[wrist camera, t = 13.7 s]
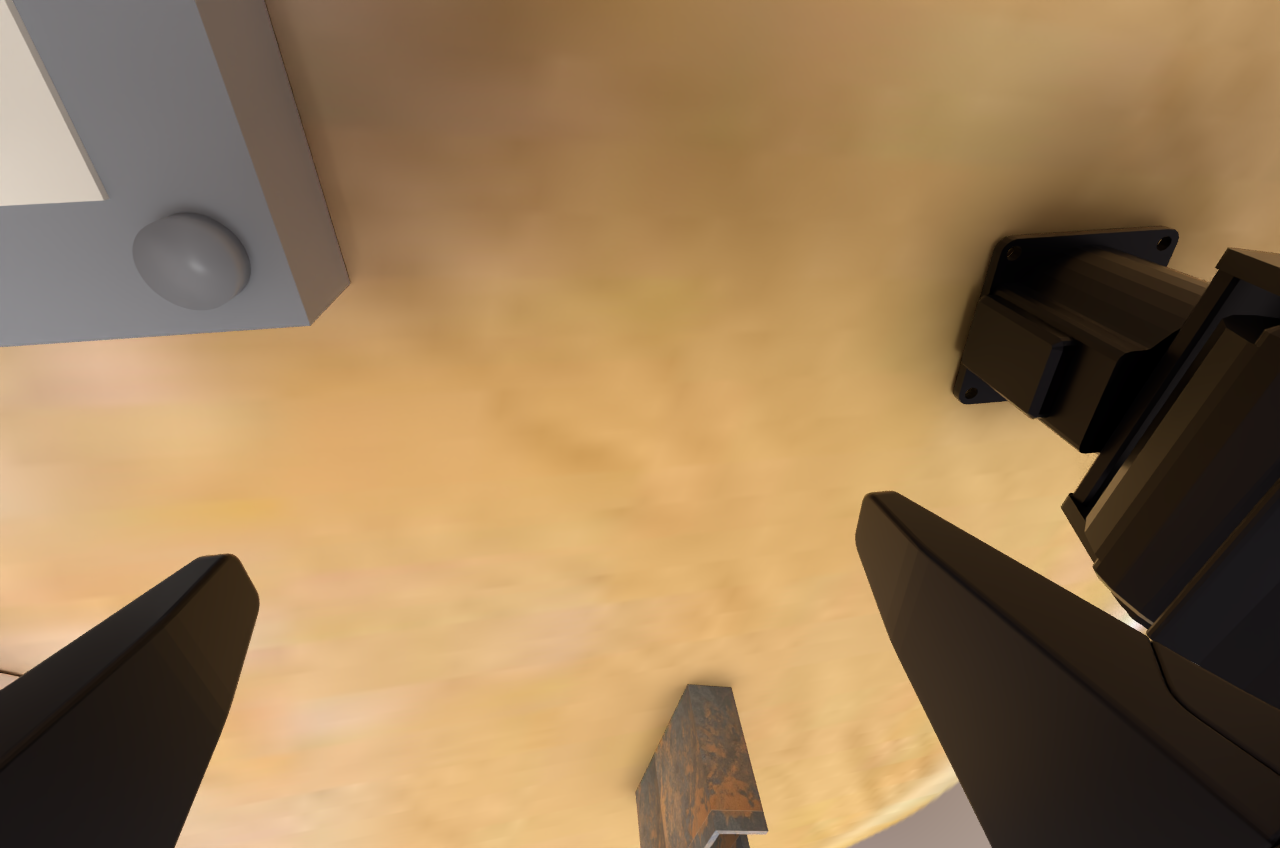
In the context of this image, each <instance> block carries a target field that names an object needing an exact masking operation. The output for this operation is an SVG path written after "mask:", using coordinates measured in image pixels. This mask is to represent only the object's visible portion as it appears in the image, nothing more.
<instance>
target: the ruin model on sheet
mask: <svg viewBox="0 0 1280 848" xmlns="http://www.w3.org/2000/svg"><path fill="white" fill-rule="evenodd" d="M636 802H637V813H638V824H639V834H640V845H641V848H750V847H749V842H748V838H747V834H767V832H768V828H767V824H766V820H765V816H764V812H763V809H762V805H761V801H760V797H759V793H758V789H757V785H756V781H755V777H754V774H753V770H752V766H751V762H750V758H749V754H748V750H747V746H746V743H745V739H744V735H743V731H742V727H741V723H740V719H739V715H738V712H737V708H736V704H735V700H734V696H733V692H732V688H731V687H717V686H703V685H689V684H688V685H687V687H686V689H685V691H684V693H683V695H682V697H681V699H680V701H679V703H678V705H677V708H676V710H675V712H674V714H673V716H672V718H671V720H670V722H669V724H668V726H667V728H666V730H665V732H664V735H663V737H662V739H661V741H660V743H659V745H658V747H657V749H656V751H655V753H654V755H653V757H652V760H651V762H650V764H649V766H648V768H647V770H646V772H645V774H644V776H643V778H642V780H641V782H640V785H639V787H638V789H637V791H636Z"/></svg>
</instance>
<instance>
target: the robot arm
mask: <svg viewBox="0 0 1280 848" xmlns="http://www.w3.org/2000/svg"><path fill="white" fill-rule="evenodd" d="M1161 239H1162V240H1161ZM1178 239H1179V234H1178V232H1177V231H1176V230H1175V229H1171V228H1168V227H1163V226H1154V227H1138V228H1122V229H1107V230H1091V231H1075V232H1059V233H1044V234H1028V235H1012V236H1008V237H1005V238H1003V239H1002V240H1000V241H999V243H998V244H997V245H996V246H995V248H994V251H993V254H992V257H991V261H990V264H989V268H988V271H987V275H986V278H985V282H984V285H983V289H982V292H981V296H980V299H979V302H978V303H977V307H976V310H975V314H974V317H973V321H972V324H971V328H970V331H969V335H968V338H967V342H966V345H965V349H964V352H963V356H962V359H961V366H960V369H959V372H958V376H957V379H956V383H955V386H954V391H953V394H954V396H955V397H956V398H957V399H958V400H959V401H960V402H961V403H963V404H978V403H990V402H1002V401H1009V402H1010V403H1011V404H1013V405H1014V406H1015V407H1016V408H1018V409H1019V410H1020V411H1022V412H1023V413H1024V414H1025V415H1027V416H1028V417H1029V418H1031V419H1038V420H1039V421H1041V422H1042V423H1043V424H1045V425H1046V426H1047V427H1048V428H1050V429H1051V430H1052V431H1054V432H1055V433H1056V434H1057V435H1059V436H1060V437H1061V438H1063V439H1064V440H1065V441H1066V442H1068V443H1069V444H1070V445H1071V446H1073V447H1074V448H1075V449H1077V450H1078V451H1079V452H1080V453H1085V454H1086V453H1096V454H1098V456H1097V458H1096V460H1095V461H1094V463H1093V464H1092V466H1091V467H1090V469H1089V470H1088V472H1087V473H1086V475H1085V476H1084V478H1083V480H1082V481H1081V483H1080V484H1079V486H1078V487H1077V489H1076V490H1075V492H1074V493H1070V494H1069V495H1068V496H1067V498H1066V499H1065V501H1064V503H1063V504H1062V506H1061V509H1062V510H1063V512H1064V514H1065V515H1066V517H1067V519H1068V520H1069V522H1070V524H1071V525H1072V527H1073V529H1074V530H1075V532H1076V534H1077V536H1078V537H1079V539H1080V541H1081V542H1082V544H1083V546H1084V547H1085V549H1086V551H1087V552H1088V554H1089V556H1090V557H1091V559H1092V561H1093V562H1094V564H1093V569H1094V571H1095V573H1096V574H1097V576H1098V578H1099V579H1100V580H1101V581H1102V582H1103V583H1104V584H1105V586H1106V587H1107V588H1108V589H1109V590H1110V591H1111V593H1112V594H1113V596H1114V597H1115V598H1116V600H1117V601H1118V602H1119V604H1120V605H1121V606H1122V607H1123V608H1124V609H1125V610H1126V611H1127V613H1128V614H1129V616H1130V617H1131V618H1132V619H1133V620H1135V621H1136V622H1138V623H1140V624H1141V625H1143V626H1144V627H1145V628H1146V629H1148V630H1147V631H1146V634H1147V636H1148V637H1149V638H1150V639H1151V640H1153V641H1150V640H1149V638H1148V637H1147V636H1146V635H1144V634H1142V633H1141V632H1139V631H1137V630H1136V629H1134V628H1132V627H1130V626H1129V625H1127V624H1125V623H1123V622H1122V621H1120V620H1118V619H1116V618H1115V617H1113V616H1111V615H1109V614H1108V613H1106V612H1104V611H1102V610H1101V609H1099V608H1097V607H1096V606H1094V605H1092V604H1090V603H1089V602H1087V601H1085V600H1083V599H1082V598H1080V597H1078V596H1076V595H1075V594H1073V593H1071V592H1069V591H1068V590H1066V589H1064V588H1063V587H1061V586H1059V585H1057V584H1056V583H1054V582H1052V581H1050V580H1049V579H1047V578H1045V577H1043V576H1042V575H1040V574H1038V573H1036V572H1035V571H1033V570H1031V569H1029V568H1028V567H1026V566H1024V565H1023V564H1021V563H1019V562H1017V561H1016V560H1014V559H1012V558H1010V557H1009V556H1007V555H1005V554H1003V553H1002V552H1000V551H998V550H996V549H995V548H993V547H991V546H989V545H988V544H986V543H984V542H983V541H981V540H979V539H977V538H976V537H974V536H972V535H970V534H969V533H967V532H965V531H963V530H962V529H960V528H958V527H956V526H955V525H953V524H951V523H950V522H948V521H946V520H944V519H943V518H941V517H939V516H937V515H936V514H934V513H932V512H930V511H929V510H927V509H925V508H923V507H922V506H920V505H918V504H916V503H915V502H913V501H911V500H910V499H908V498H906V497H904V496H903V495H901V494H899V493H897V492H895V491H882V492H871V493H868V494H867V495H865V497H864V499H863V501H862V506H861V510H860V515H859V519H858V524H857V529H856V534H855V541H856V547H857V551H858V554H859V556H860V559H861V562H862V565H863V567H864V570H865V573H866V576H867V578H868V581H869V584H870V587H871V589H872V592H873V595H874V598H875V600H876V603H877V606H878V609H879V611H880V614H881V617H882V620H883V622H884V625H885V628H886V630H887V633H888V635H889V638H890V640H891V643H892V645H893V647H894V649H895V651H896V653H897V656H898V658H899V660H900V662H901V664H902V666H903V668H904V670H905V672H906V674H907V676H908V678H909V680H910V682H911V684H912V686H913V688H914V690H915V692H916V694H917V696H918V698H919V700H920V702H921V704H922V706H923V709H924V711H925V713H926V715H927V717H928V719H929V721H930V723H931V725H932V727H933V729H934V731H935V733H936V735H937V737H938V739H939V741H940V743H941V745H942V747H943V749H944V751H945V753H946V755H947V757H948V759H949V761H950V763H951V765H952V767H953V769H954V771H955V773H956V776H957V778H958V780H959V782H960V784H961V786H962V788H963V790H964V792H965V794H966V796H967V798H968V799H969V802H970V804H971V806H972V808H973V810H974V812H975V814H976V816H977V818H978V820H979V822H980V824H981V826H982V828H983V830H984V832H985V834H986V836H987V838H988V840H989V842H990V844H991V846H992V848H1280V254H1278V253H1270V252H1262V251H1254V250H1246V249H1238V248H1229V247H1228V248H1227V250H1226V251H1225V253H1224V255H1223V256H1222V258H1221V259H1220V261H1219V262H1218V264H1217V265H1216V267H1215V268H1216V269H1219V270H1218V272H1217V273H1216V275H1215V276H1214V278H1213V279H1212V281H1211V283H1210V282H1207V281H1204V280H1201V279H1198V278H1196V277H1193V276H1190V275H1187V274H1184V273H1182V272H1179V271H1176V270H1173V269H1171V268H1168V267H1167V265H1168V263H1169V260H1170V258H1171V256H1172V254H1173V252H1174V249H1175V247H1176V245H1177V243H1178ZM1160 240H1161V241H1160ZM1159 241H1160V243H1159V244H1158V242H1159ZM1157 244H1158V245H1157ZM1012 247H1014V251H1013V253H1012V254H1011V255H1010V256H1008V257H1007V253H1008V251H1009V250H1010V249H1011V248H1012ZM970 388H972V389H971V390H970V391H969V392H968V393H966V391H967V390H969V389H970ZM965 393H966V394H965ZM259 604H260V603H259V596H258V593H257V590H256V589H255V587H254V585H253V583H252V581H251V580H250V578H249V576H248V574H247V572H246V570H245V569H244V567H243V565H242V563H241V561H240V560H239V559H238V558H237V557H236V556H235V555H233V554H218V555H208V556H202V557H199V558H197V559H195V560H193V561H192V562H190V563H189V564H187V565H186V566H184V567H183V568H181V569H180V570H179V571H177V572H176V573H174V574H173V575H171V576H170V577H168V578H167V579H165V580H164V581H162V582H161V583H159V584H158V585H156V586H155V587H153V588H152V589H150V590H149V591H147V592H146V593H144V594H143V595H141V596H140V597H138V598H137V599H135V600H134V601H132V602H131V603H129V604H128V605H126V606H125V607H123V608H122V609H120V610H119V611H117V612H116V613H114V614H113V615H111V616H110V617H109V618H107V619H106V620H104V621H103V622H101V623H100V624H98V625H97V626H95V627H94V628H92V629H91V630H89V631H88V632H86V633H85V634H83V635H82V636H80V637H79V638H77V639H76V640H74V641H73V642H71V643H70V644H68V645H67V646H65V647H64V648H62V649H61V650H59V651H58V652H56V653H55V654H53V655H52V656H50V657H49V658H47V659H46V660H44V661H43V662H42V663H40V664H39V665H37V666H36V667H34V668H33V669H31V670H30V671H28V672H27V673H25V674H24V675H22V676H21V677H19V678H18V679H16V680H15V681H13V682H12V683H10V684H9V685H7V686H6V687H4V688H3V689H1V690H0V848H175V845H176V843H177V840H178V838H179V835H180V833H181V831H182V828H183V826H184V823H185V821H186V818H187V816H188V813H189V811H190V808H191V806H192V804H193V801H194V799H195V796H196V794H197V791H198V789H199V786H200V784H201V781H202V779H203V777H204V774H205V772H206V769H207V767H208V764H209V762H210V759H211V757H212V755H213V752H214V750H215V747H216V745H217V742H218V740H219V737H220V735H221V732H222V730H223V727H224V724H225V722H226V719H227V716H228V713H229V710H230V707H231V704H232V701H233V698H234V695H235V691H236V688H237V684H238V681H239V677H240V674H241V671H242V667H243V664H244V660H245V657H246V653H247V650H248V646H249V643H250V640H251V636H252V633H253V629H254V626H255V622H256V619H257V615H258V612H259ZM1191 661H1192V662H1191ZM1193 662H1194V663H1193ZM1200 666H1201V667H1200Z"/></svg>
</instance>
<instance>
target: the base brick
mask: <svg viewBox="0 0 1280 848" xmlns="http://www.w3.org/2000/svg"><path fill="white" fill-rule="evenodd" d="M349 284H350V281H349V277H348V274H347V271H346V268H345V264H344V261H343V258H342V254H341V251H340V248H339V245H338V241H337V238H336V235H335V231H334V228H333V225H332V222H331V218H330V215H329V212H328V208H327V205H326V202H325V199H324V195H323V192H322V189H321V185H320V182H319V179H318V176H317V172H316V169H315V166H314V162H313V159H312V156H311V153H310V149H309V146H308V143H307V139H306V136H305V133H304V130H303V126H302V123H301V120H300V116H299V113H298V110H297V107H296V103H295V100H294V97H293V93H292V90H291V87H290V84H289V80H288V77H287V74H286V70H285V67H284V64H283V61H282V57H281V54H280V51H279V47H278V44H277V41H276V38H275V34H274V31H273V28H272V24H271V21H270V18H269V15H268V11H267V8H266V5H265V1H264V0H0V347H8V346H22V345H37V344H52V343H66V342H81V341H95V340H110V339H124V338H139V337H153V336H168V335H182V334H197V333H211V332H226V331H240V330H255V329H269V328H284V327H299V326H311V325H312V324H313V322H314V321H315V320H316V319H317V318H318V317H319V316H320V315H321V314H322V313H323V312H324V311H325V310H326V309H327V308H328V307H329V306H330V305H331V303H332V302H333V301H334V300H335V299H336V298H337V297H338V296H339V295H340V294H341V293H342V292H343V291H344V290H345V289H346V288H347V287H348V286H349Z"/></svg>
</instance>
